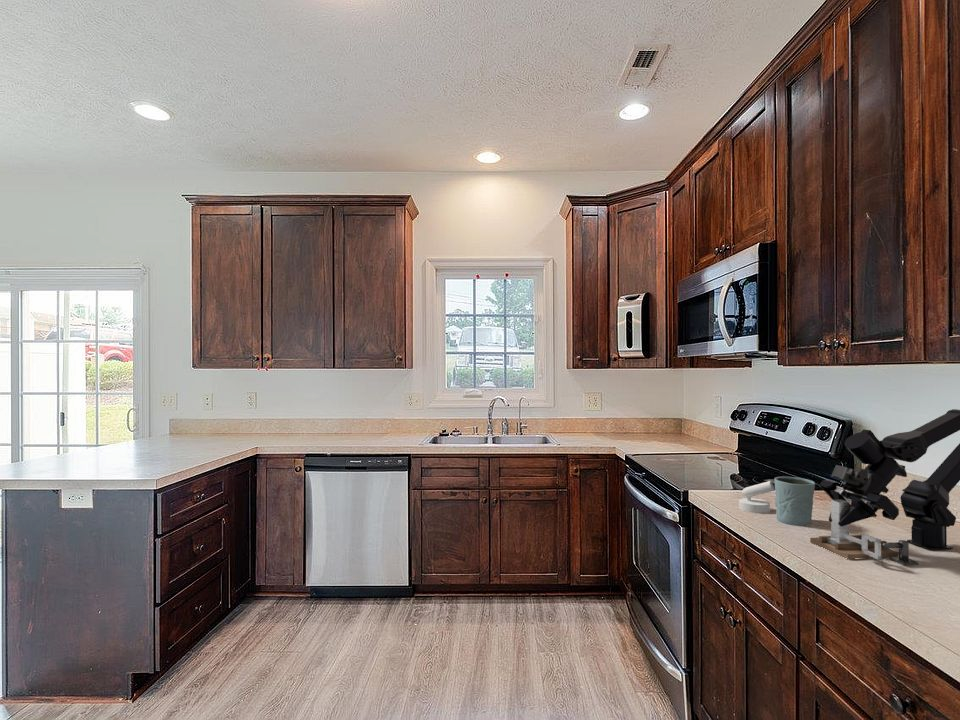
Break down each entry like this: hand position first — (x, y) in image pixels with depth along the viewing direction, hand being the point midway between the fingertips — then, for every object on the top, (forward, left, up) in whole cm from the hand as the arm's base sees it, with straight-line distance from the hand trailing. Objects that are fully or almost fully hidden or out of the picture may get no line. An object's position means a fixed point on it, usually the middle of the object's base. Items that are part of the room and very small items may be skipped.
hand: (834, 523), depth 130 cm
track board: (-5, 0, -7) cm, 8 cm away
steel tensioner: (-1, +5, -5) cm, 7 cm away
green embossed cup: (-7, -23, -7) cm, 25 cm away
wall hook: (-4, -36, -7) cm, 37 cm away
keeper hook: (-8, +9, -7) cm, 14 cm away
